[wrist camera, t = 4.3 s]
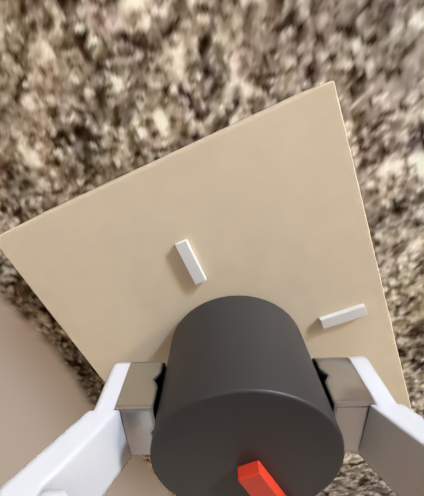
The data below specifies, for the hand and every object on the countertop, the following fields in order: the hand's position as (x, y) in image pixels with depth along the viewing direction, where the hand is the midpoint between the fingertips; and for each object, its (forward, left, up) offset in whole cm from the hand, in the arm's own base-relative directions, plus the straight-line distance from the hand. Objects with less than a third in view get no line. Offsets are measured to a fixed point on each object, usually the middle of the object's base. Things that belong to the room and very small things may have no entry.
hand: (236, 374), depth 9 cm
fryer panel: (0, 0, -4) cm, 4 cm away
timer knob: (0, 0, -1) cm, 1 cm away
